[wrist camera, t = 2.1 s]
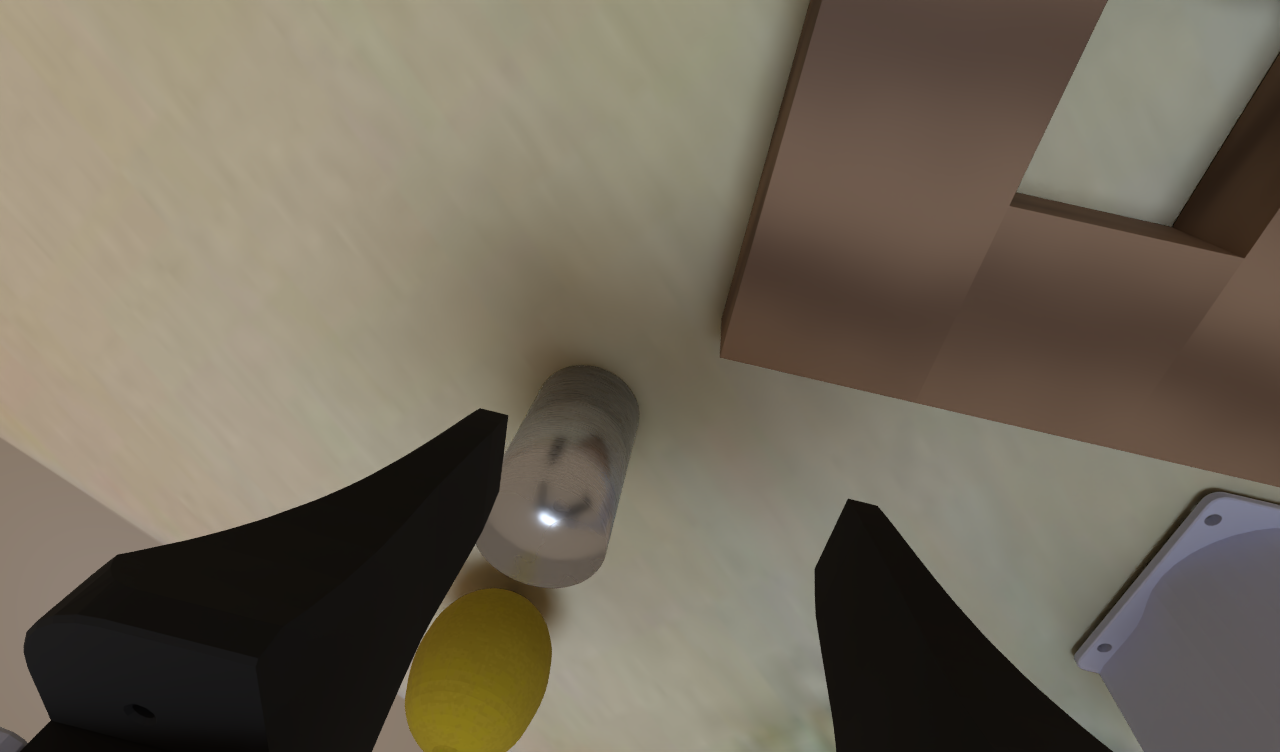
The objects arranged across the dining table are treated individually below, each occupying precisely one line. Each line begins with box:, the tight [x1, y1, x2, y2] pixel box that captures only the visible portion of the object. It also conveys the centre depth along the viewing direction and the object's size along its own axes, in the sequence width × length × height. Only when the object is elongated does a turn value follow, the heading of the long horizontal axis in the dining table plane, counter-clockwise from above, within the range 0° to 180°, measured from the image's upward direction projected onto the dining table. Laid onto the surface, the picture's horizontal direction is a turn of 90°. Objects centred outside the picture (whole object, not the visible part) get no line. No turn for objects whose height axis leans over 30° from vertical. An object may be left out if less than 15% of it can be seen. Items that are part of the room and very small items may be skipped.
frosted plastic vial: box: [476, 365, 639, 588], centre depth 21 cm, size 4×4×7 cm
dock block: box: [720, 0, 1280, 487], centre depth 16 cm, size 18×18×3 cm
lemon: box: [405, 588, 552, 752], centre depth 26 cm, size 6×6×8 cm
